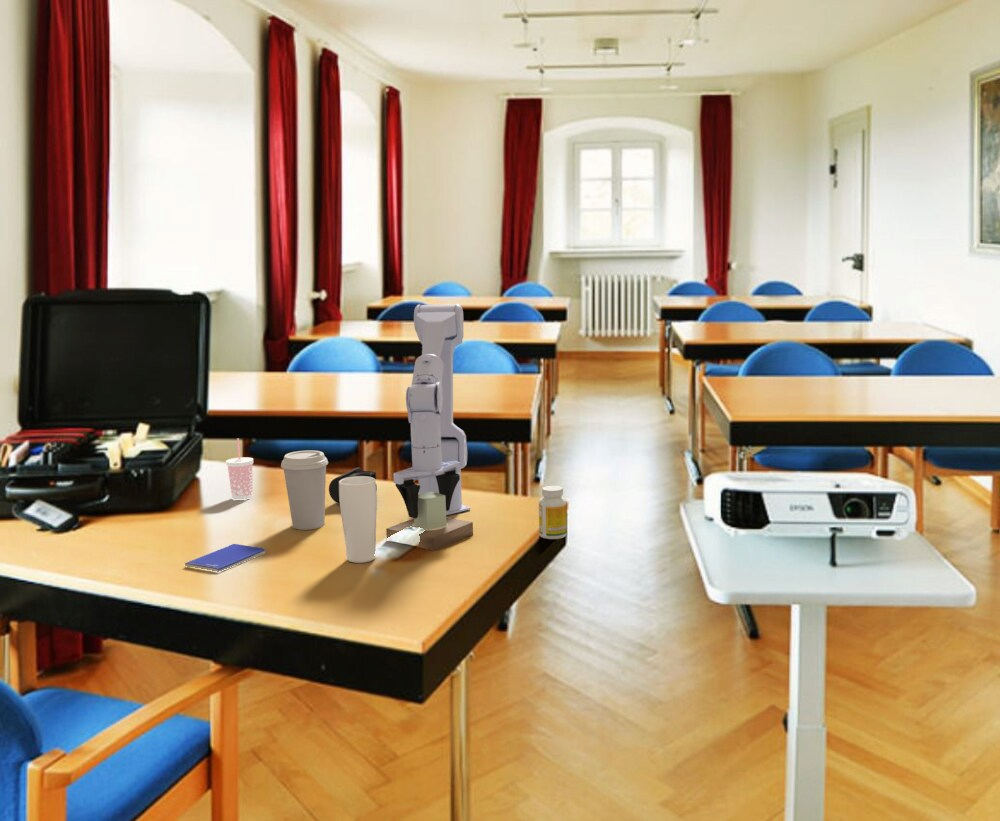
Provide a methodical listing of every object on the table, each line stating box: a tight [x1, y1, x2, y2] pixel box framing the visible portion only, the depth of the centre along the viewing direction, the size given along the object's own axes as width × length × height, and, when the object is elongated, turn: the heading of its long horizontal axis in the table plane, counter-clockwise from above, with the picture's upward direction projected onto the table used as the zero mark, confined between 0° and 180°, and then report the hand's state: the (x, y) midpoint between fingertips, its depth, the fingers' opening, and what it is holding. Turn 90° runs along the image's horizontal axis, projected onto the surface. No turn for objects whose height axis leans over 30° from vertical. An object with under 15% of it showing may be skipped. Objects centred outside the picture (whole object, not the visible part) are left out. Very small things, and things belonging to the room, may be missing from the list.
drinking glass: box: [339, 476, 378, 564], centre depth 186 cm, size 7×7×15 cm
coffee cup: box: [280, 450, 329, 531], centre depth 209 cm, size 10×10×15 cm
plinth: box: [385, 517, 474, 551], centre depth 199 cm, size 12×12×2 cm
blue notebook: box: [184, 543, 266, 572], centre depth 189 cm, size 2×8×12 cm
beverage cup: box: [225, 437, 254, 499], centre depth 233 cm, size 6×6×14 cm
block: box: [414, 491, 447, 530], centre depth 198 cm, size 4×4×6 cm
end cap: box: [328, 467, 378, 506], centre depth 228 cm, size 10×7×7 cm
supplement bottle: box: [538, 485, 568, 540], centre depth 198 cm, size 5×5×10 cm
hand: (429, 513), depth 199 cm, fingers open, 7 cm apart
